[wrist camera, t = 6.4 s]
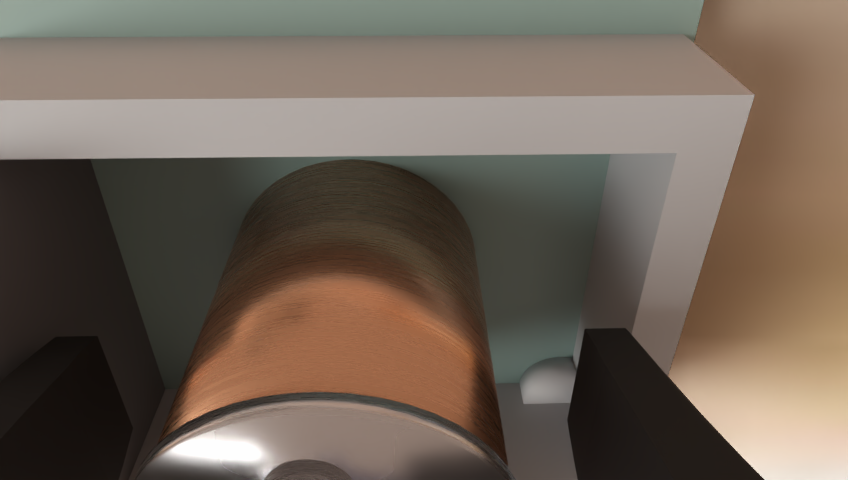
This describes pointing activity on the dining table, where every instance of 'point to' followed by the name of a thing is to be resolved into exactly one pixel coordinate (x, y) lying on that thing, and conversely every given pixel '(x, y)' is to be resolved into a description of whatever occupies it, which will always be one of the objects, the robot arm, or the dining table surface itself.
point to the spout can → (341, 342)
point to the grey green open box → (363, 140)
